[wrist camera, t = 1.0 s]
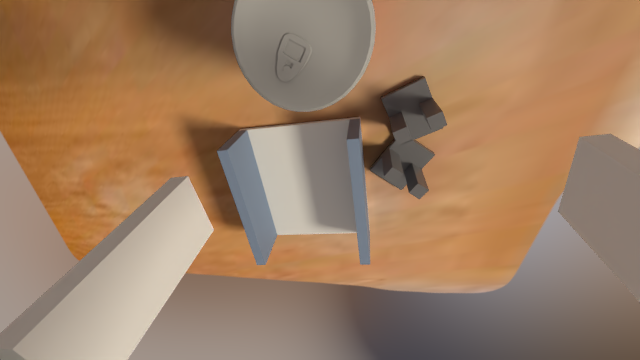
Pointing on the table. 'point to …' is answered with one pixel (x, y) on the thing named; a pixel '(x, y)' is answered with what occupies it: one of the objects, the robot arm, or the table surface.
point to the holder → (298, 182)
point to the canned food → (303, 48)
